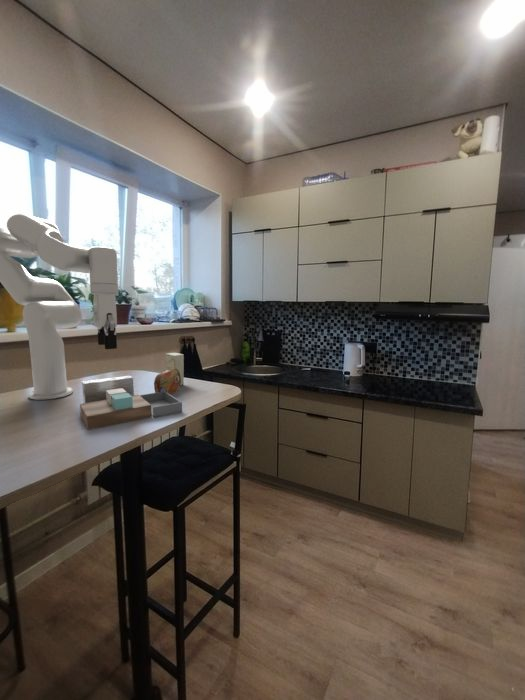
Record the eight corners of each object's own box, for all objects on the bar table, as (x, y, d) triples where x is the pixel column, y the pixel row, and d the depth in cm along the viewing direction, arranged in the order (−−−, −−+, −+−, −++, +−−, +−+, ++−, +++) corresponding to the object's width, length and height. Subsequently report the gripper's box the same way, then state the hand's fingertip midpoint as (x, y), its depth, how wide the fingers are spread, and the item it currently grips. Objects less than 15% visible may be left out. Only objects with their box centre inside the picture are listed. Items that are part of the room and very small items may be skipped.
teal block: (111, 405, 90) (110, 395, 89) (128, 403, 92) (127, 392, 92) (115, 410, 86) (114, 399, 86) (132, 407, 89) (132, 396, 88)
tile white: (106, 400, 94) (106, 390, 94) (122, 397, 97) (122, 388, 97) (110, 404, 91) (109, 394, 90) (126, 401, 94) (126, 391, 93)
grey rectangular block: (83, 406, 100) (81, 381, 99) (131, 398, 108) (130, 375, 107) (85, 409, 97) (83, 383, 96) (134, 401, 105) (133, 377, 104)
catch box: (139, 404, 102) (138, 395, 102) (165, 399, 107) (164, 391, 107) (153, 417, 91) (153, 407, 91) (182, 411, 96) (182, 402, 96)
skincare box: (165, 383, 127) (164, 353, 125) (175, 381, 130) (175, 352, 128) (174, 387, 123) (173, 355, 121) (184, 384, 126) (184, 354, 124)
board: (80, 415, 92) (79, 403, 91) (138, 405, 101) (138, 394, 101) (88, 429, 82) (87, 416, 82) (151, 416, 92) (151, 405, 91)
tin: (161, 401, 106) (160, 375, 105) (152, 400, 107) (151, 375, 106) (181, 388, 121) (181, 366, 119) (174, 388, 121) (173, 366, 120)
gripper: (85, 289, 102) (88, 343, 104) (96, 289, 88) (99, 351, 91) (111, 290, 106) (113, 342, 109) (125, 290, 92) (127, 349, 95)
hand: (107, 346), depth 100 cm, fingers open, 9 cm apart
